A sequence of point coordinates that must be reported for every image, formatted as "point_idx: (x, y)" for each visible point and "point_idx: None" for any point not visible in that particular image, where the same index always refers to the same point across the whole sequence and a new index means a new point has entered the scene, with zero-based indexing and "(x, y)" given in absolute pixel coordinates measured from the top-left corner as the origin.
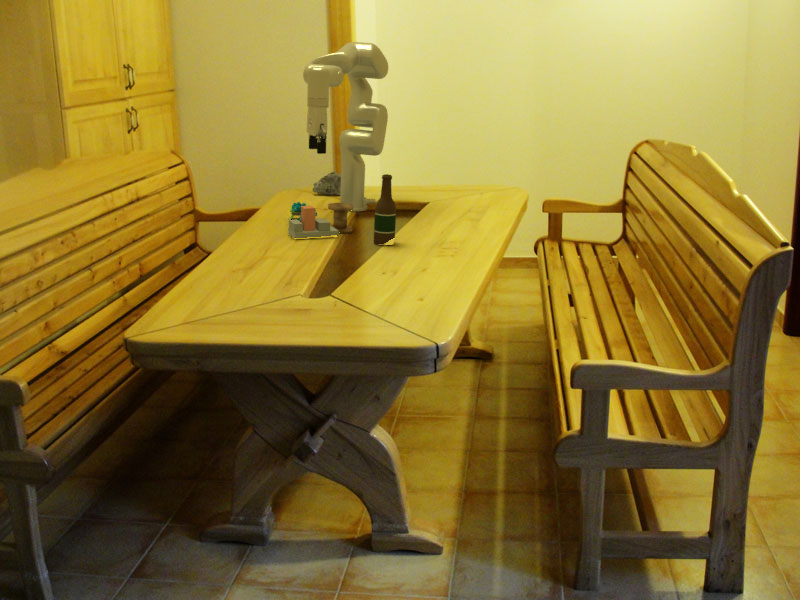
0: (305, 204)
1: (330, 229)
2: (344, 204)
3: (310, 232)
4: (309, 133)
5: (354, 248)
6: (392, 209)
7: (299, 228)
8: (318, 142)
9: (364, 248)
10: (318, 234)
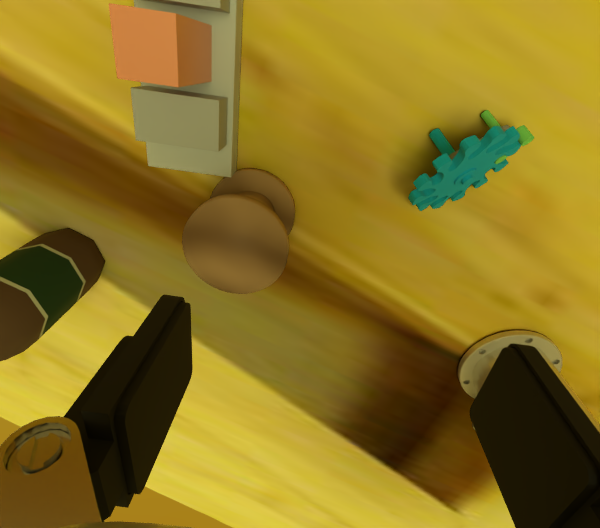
0: (435, 168)
1: (172, 146)
2: (246, 269)
3: None
4: None
5: (9, 143)
6: None
7: None
8: (65, 418)
9: (11, 174)
10: None
